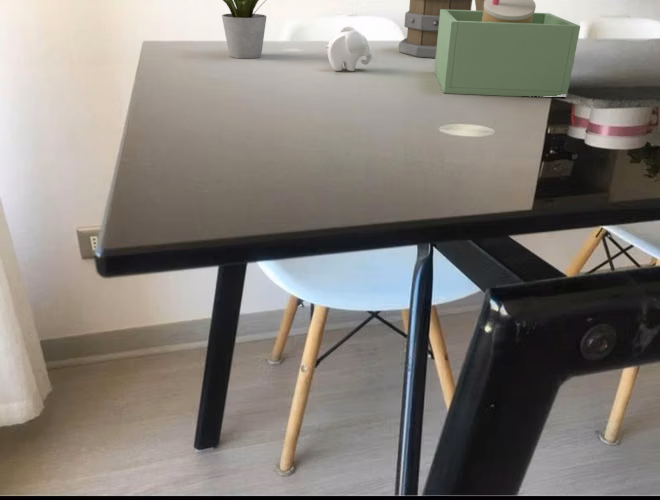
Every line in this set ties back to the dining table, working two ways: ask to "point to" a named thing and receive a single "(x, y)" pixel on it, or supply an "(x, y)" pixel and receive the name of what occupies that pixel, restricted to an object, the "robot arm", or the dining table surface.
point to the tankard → (428, 24)
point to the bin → (504, 55)
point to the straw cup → (508, 11)
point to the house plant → (244, 29)
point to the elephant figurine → (347, 49)
